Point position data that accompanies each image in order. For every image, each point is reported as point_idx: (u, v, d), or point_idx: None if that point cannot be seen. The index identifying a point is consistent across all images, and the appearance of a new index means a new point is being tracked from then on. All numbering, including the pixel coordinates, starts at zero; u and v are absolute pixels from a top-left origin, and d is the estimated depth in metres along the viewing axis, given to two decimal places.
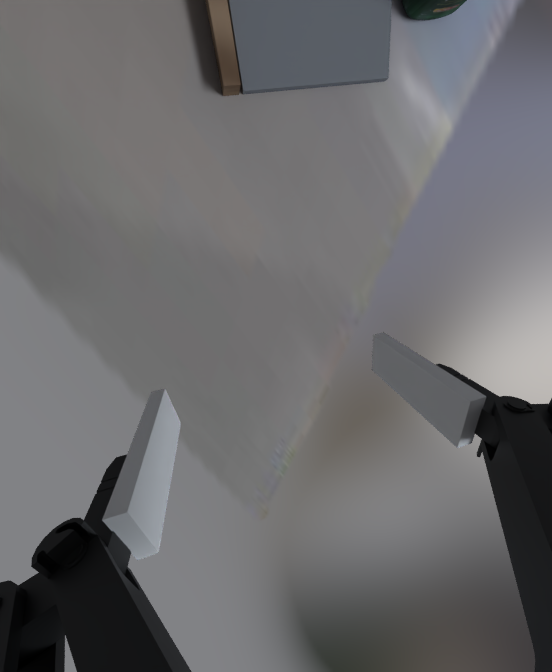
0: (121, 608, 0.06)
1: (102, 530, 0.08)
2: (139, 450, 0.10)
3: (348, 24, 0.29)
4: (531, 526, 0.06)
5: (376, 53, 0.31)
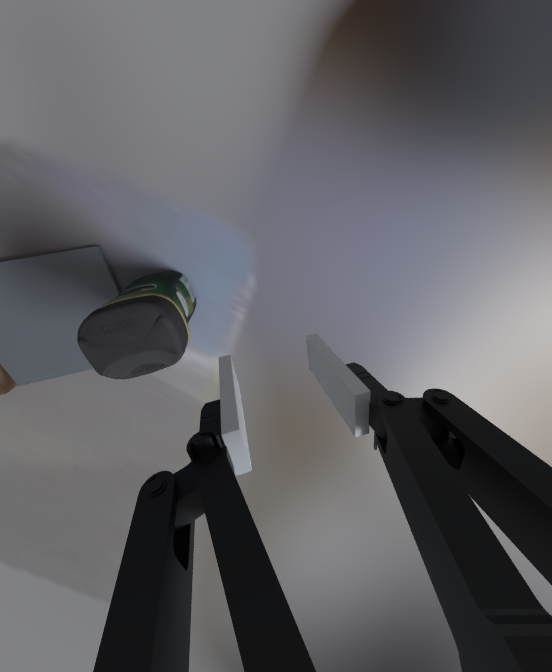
0: (238, 506, 0.07)
1: None
2: (229, 394, 0.12)
3: None
4: (426, 518, 0.07)
5: None
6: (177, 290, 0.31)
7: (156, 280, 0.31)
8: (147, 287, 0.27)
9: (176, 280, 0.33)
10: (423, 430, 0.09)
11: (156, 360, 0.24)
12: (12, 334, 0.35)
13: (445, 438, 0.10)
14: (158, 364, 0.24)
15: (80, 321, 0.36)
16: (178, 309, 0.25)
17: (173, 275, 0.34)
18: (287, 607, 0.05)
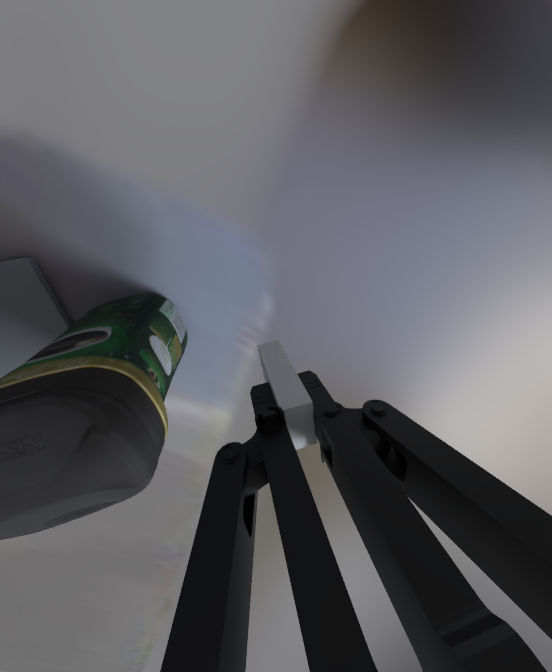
0: (298, 479, 0.08)
1: None
2: (278, 377, 0.13)
3: None
4: (377, 535, 0.07)
5: None
6: (152, 333, 0.19)
7: (117, 316, 0.18)
8: (92, 337, 0.15)
9: (153, 311, 0.21)
10: (362, 438, 0.09)
11: (94, 502, 0.12)
12: None
13: (387, 448, 0.10)
14: (101, 504, 0.12)
15: (11, 370, 0.24)
16: (143, 388, 0.13)
17: (150, 302, 0.22)
18: (342, 582, 0.06)
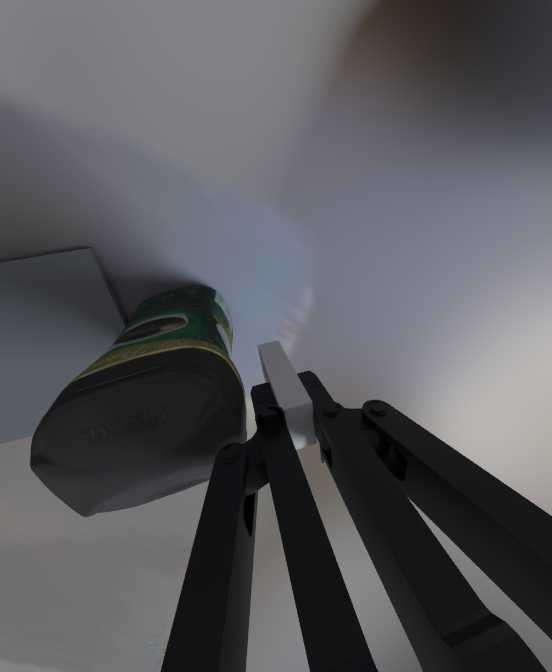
0: (299, 479, 0.08)
1: None
2: (278, 376, 0.13)
3: None
4: (376, 535, 0.07)
5: None
6: (217, 321, 0.19)
7: (183, 305, 0.19)
8: (172, 322, 0.16)
9: (211, 301, 0.21)
10: (362, 438, 0.09)
11: (196, 477, 0.12)
12: None
13: (387, 448, 0.10)
14: (198, 480, 0.13)
15: (64, 359, 0.25)
16: (233, 369, 0.13)
17: (205, 293, 0.22)
18: (342, 582, 0.06)
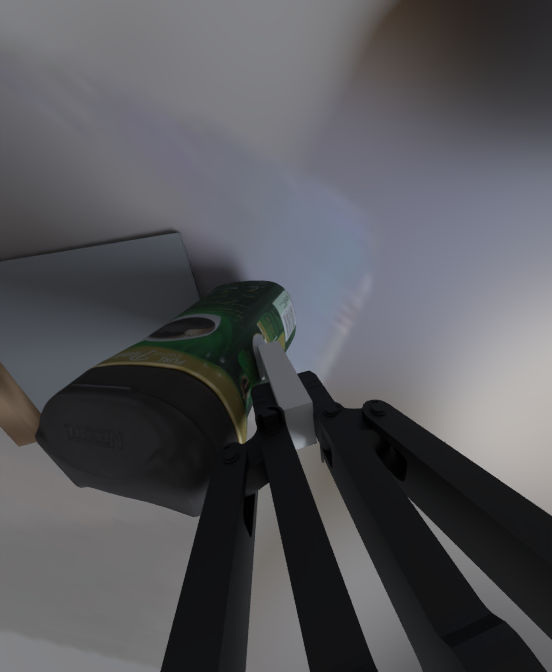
0: (299, 479, 0.08)
1: None
2: (278, 376, 0.13)
3: None
4: (377, 535, 0.07)
5: None
6: (258, 330, 0.17)
7: (231, 304, 0.18)
8: (201, 326, 0.15)
9: (266, 304, 0.19)
10: (362, 438, 0.09)
11: None
12: (50, 360, 0.24)
13: (387, 448, 0.10)
14: None
15: None
16: (227, 406, 0.11)
17: (266, 292, 0.20)
18: (342, 582, 0.06)
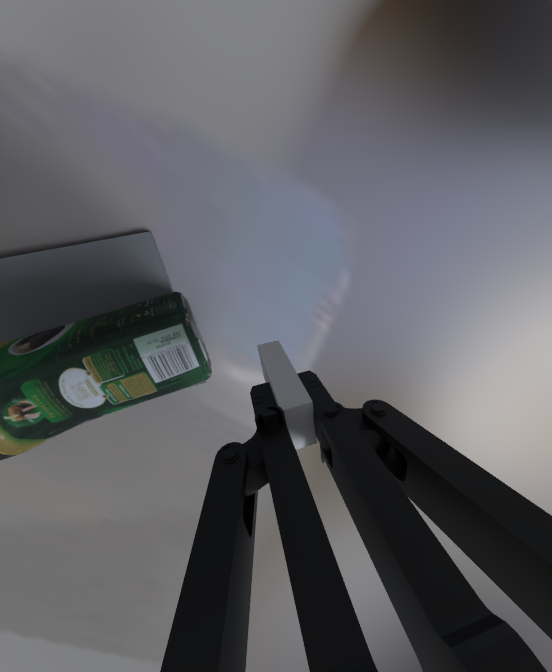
0: (298, 479, 0.08)
1: None
2: (278, 376, 0.13)
3: None
4: (377, 535, 0.07)
5: None
6: (80, 365, 0.17)
7: (90, 328, 0.18)
8: (34, 343, 0.17)
9: (123, 338, 0.17)
10: (362, 438, 0.09)
11: None
12: None
13: (387, 448, 0.10)
14: None
15: None
16: None
17: (142, 324, 0.18)
18: (342, 582, 0.06)
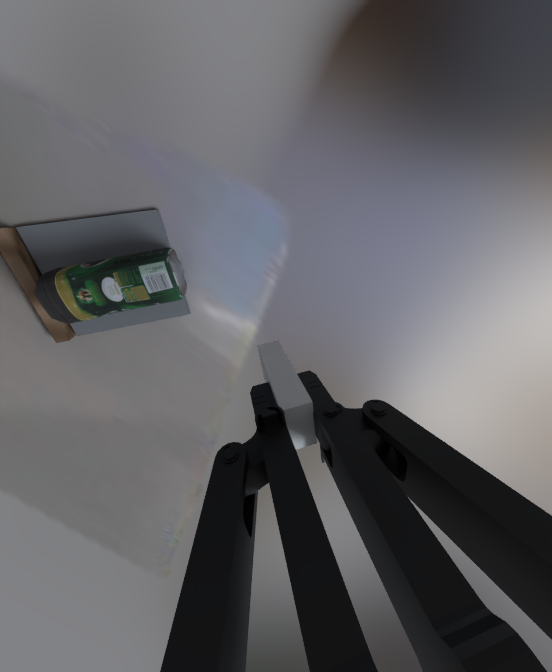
0: (298, 479, 0.08)
1: None
2: (278, 377, 0.13)
3: None
4: (377, 535, 0.07)
5: (176, 303, 0.45)
6: (112, 276, 0.33)
7: (119, 259, 0.34)
8: (92, 264, 0.34)
9: (133, 265, 0.33)
10: (362, 438, 0.09)
11: None
12: None
13: (387, 448, 0.10)
14: None
15: None
16: (58, 292, 0.31)
17: (144, 259, 0.33)
18: (342, 582, 0.06)
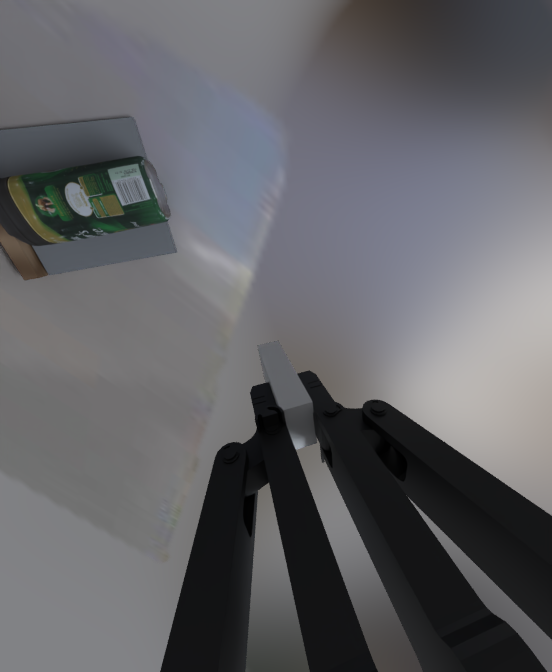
0: (298, 479, 0.08)
1: None
2: (278, 376, 0.13)
3: None
4: (377, 535, 0.07)
5: (160, 239, 0.40)
6: (76, 181, 0.28)
7: None
8: (54, 170, 0.29)
9: (101, 168, 0.28)
10: (363, 438, 0.09)
11: None
12: None
13: (387, 448, 0.10)
14: None
15: None
16: (13, 198, 0.27)
17: (114, 162, 0.28)
18: (342, 582, 0.06)
